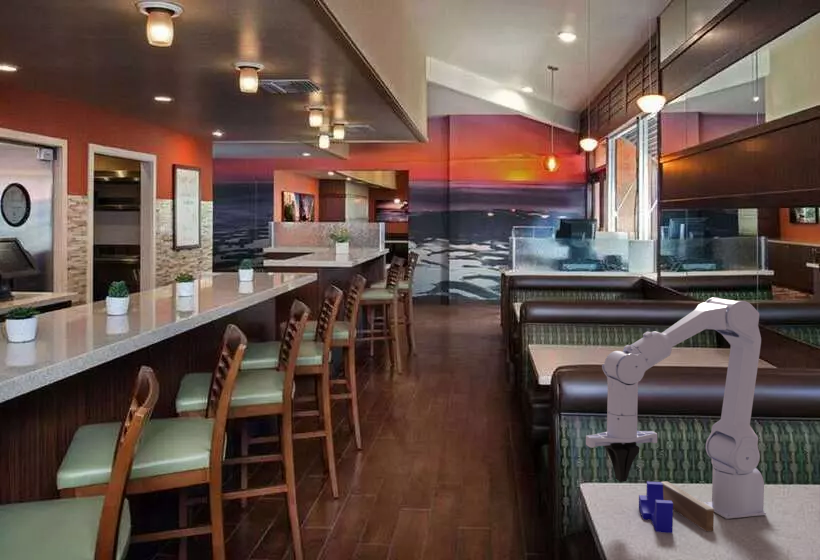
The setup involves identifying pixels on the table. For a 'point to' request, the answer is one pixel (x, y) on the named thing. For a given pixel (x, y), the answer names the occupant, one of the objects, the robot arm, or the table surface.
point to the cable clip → (657, 508)
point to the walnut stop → (689, 506)
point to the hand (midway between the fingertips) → (621, 480)
